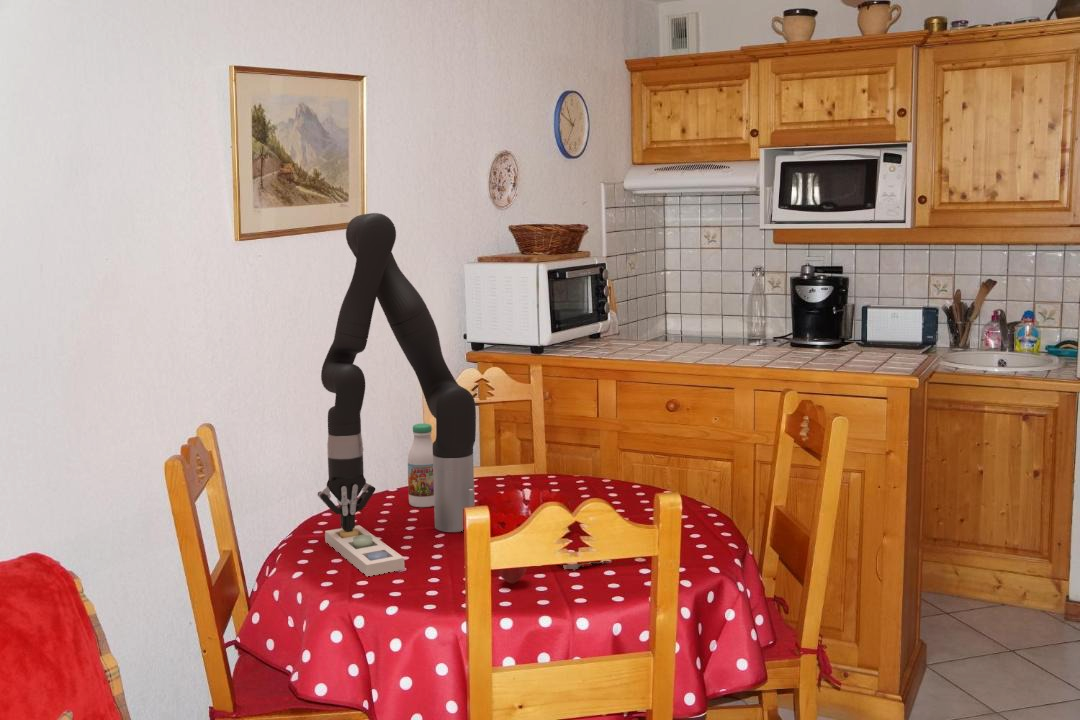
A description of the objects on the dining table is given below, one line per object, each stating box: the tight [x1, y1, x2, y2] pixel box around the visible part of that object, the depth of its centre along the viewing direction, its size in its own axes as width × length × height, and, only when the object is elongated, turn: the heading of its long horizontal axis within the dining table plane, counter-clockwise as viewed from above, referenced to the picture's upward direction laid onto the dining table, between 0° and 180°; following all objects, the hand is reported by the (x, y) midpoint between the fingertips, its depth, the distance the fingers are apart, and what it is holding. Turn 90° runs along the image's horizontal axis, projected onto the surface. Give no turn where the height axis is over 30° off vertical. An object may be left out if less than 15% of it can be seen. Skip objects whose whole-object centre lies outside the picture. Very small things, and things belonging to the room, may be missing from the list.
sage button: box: [353, 535, 373, 549], centre depth 222 cm, size 4×4×2 cm
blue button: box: [368, 551, 388, 561], centre depth 215 cm, size 4×4×2 cm
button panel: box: [324, 524, 405, 578], centre depth 222 cm, size 8×26×2 cm, turn 30°
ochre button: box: [340, 528, 359, 538], centre depth 230 cm, size 4×4×2 cm
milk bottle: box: [407, 423, 434, 508], centre depth 259 cm, size 8×8×20 cm
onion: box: [497, 567, 528, 585], centre depth 204 cm, size 6×6×8 cm
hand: (347, 530), depth 229 cm, fingers closed
